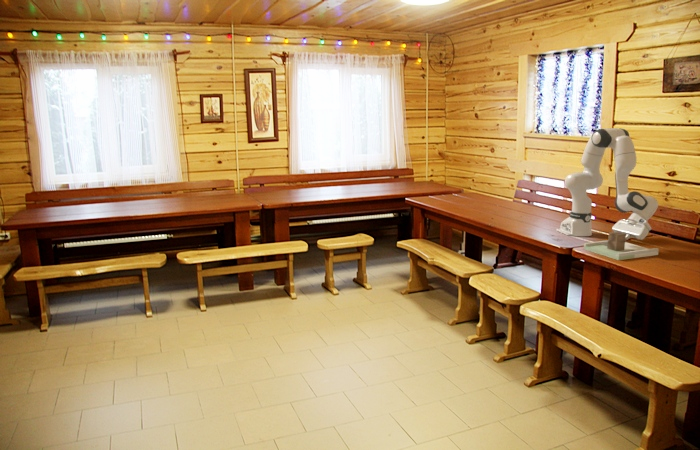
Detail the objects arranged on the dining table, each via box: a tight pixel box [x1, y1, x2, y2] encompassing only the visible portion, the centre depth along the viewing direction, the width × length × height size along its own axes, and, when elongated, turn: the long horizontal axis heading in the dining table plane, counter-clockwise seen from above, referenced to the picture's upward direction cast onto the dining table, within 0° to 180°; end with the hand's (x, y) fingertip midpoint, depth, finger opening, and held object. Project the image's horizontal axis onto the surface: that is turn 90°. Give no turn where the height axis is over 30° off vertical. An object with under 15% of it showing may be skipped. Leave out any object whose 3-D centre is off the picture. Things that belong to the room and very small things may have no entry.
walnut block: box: [607, 231, 626, 251], centre depth 317 cm, size 6×6×9 cm
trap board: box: [583, 239, 659, 261], centre depth 319 cm, size 25×28×4 cm
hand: (621, 240), depth 318 cm, fingers closed
